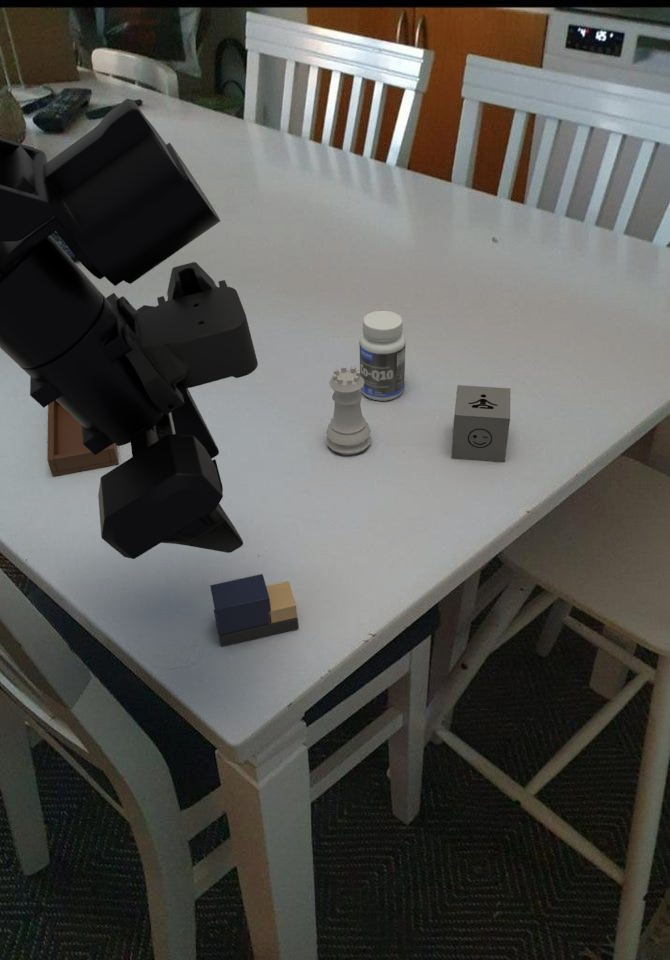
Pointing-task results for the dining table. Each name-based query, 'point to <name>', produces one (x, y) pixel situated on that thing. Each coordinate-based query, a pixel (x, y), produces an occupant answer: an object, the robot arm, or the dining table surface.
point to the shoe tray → (72, 445)
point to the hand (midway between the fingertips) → (224, 498)
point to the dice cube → (481, 423)
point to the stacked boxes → (252, 609)
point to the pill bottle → (382, 356)
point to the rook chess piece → (347, 414)
